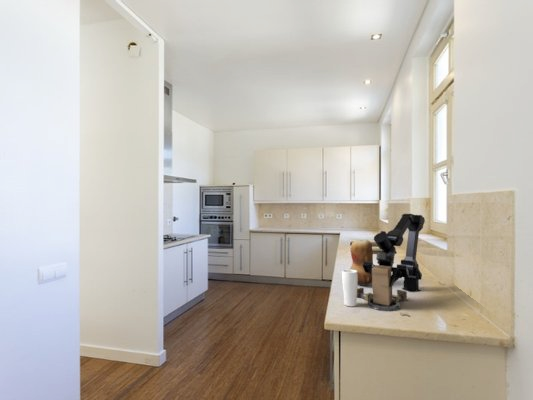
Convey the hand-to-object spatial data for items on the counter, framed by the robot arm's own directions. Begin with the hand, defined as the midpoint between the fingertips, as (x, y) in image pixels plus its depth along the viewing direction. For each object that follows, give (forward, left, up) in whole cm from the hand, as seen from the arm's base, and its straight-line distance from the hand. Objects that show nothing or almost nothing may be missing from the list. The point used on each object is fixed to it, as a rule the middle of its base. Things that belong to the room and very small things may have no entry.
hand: (381, 285), depth 130 cm
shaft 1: (+1, -12, -9) cm, 15 cm away
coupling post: (-1, -1, -7) cm, 8 cm away
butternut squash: (-12, -34, -9) cm, 37 cm away
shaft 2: (-11, -5, -9) cm, 15 cm away
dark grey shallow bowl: (-1, -1, -9) cm, 9 cm away
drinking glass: (+12, -6, -9) cm, 16 cm away
